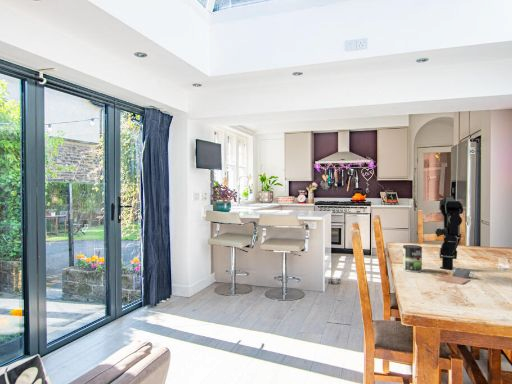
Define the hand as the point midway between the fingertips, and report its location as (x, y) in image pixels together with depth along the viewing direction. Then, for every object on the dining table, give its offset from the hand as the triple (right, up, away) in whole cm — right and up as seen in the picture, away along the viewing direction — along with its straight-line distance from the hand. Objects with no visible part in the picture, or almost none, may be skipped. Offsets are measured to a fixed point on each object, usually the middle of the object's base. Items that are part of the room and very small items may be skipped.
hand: (452, 252), depth 199 cm
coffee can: (-15, -13, +16) cm, 26 cm away
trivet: (-4, -13, -8) cm, 16 cm away
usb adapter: (+4, -13, 0) cm, 14 cm away
